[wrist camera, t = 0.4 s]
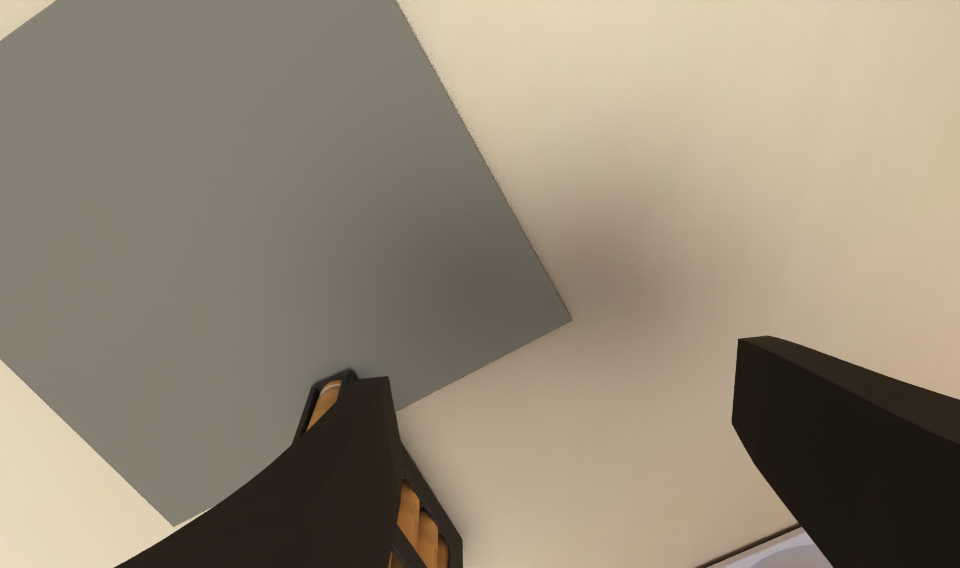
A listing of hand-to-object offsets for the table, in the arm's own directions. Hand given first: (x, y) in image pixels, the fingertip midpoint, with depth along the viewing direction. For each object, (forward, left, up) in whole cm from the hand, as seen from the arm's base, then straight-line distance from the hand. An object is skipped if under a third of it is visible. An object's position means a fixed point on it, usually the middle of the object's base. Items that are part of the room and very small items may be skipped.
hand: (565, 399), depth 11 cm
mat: (+6, +9, -10) cm, 15 cm away
